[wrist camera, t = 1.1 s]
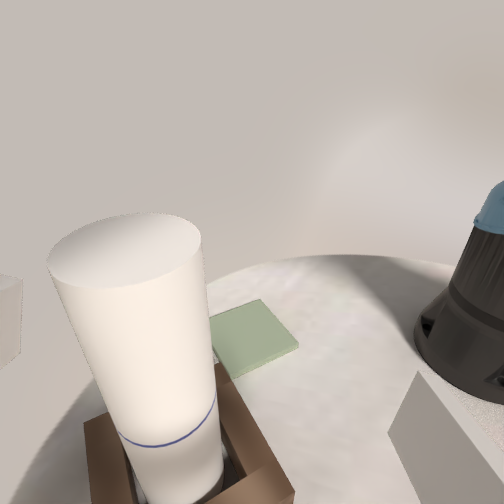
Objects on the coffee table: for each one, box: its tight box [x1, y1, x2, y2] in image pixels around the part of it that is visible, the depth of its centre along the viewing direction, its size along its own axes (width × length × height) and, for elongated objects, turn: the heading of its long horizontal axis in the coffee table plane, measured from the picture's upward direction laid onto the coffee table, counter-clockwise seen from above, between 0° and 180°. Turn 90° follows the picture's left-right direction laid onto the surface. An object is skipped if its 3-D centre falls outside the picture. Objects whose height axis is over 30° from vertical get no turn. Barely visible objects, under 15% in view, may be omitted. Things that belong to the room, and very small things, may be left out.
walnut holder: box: [84, 362, 295, 504], centre depth 28 cm, size 14×14×4 cm
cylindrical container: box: [47, 213, 224, 504], centre depth 22 cm, size 7×7×25 cm
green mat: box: [209, 299, 299, 380], centre depth 43 cm, size 10×10×1 cm
